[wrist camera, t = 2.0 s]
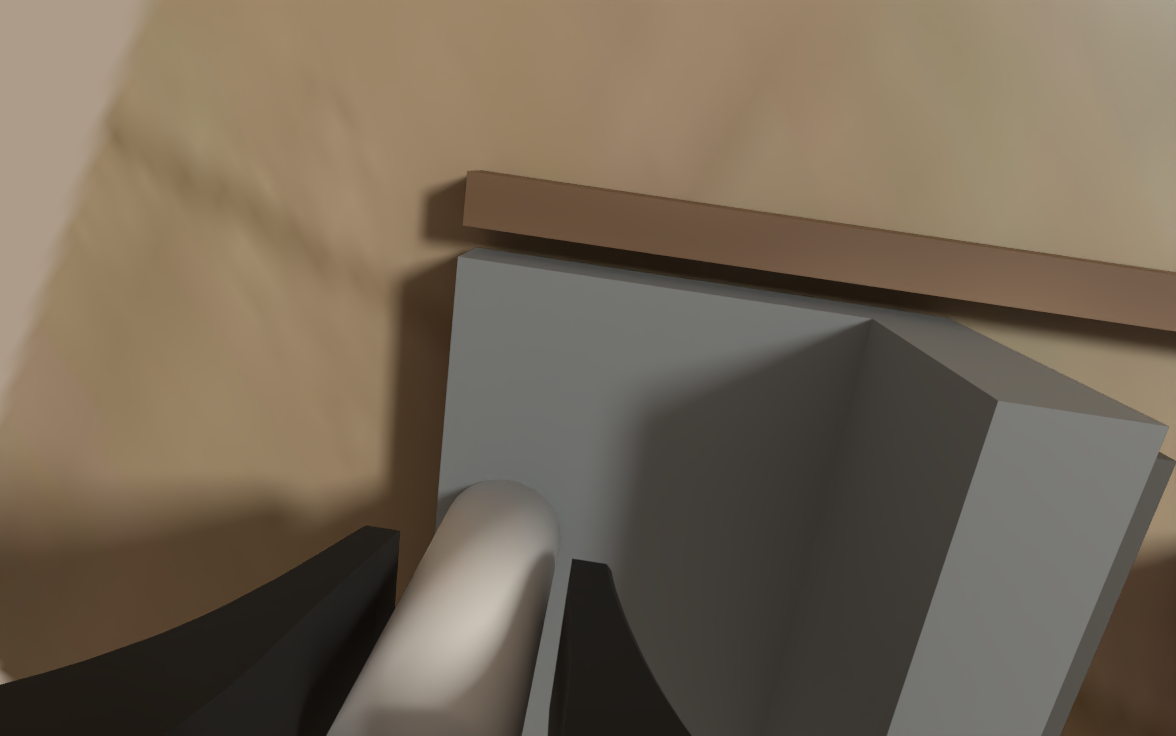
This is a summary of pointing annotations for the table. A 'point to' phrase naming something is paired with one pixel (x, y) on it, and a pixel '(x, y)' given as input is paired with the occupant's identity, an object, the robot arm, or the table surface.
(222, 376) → the table surface
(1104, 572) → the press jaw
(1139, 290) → the frame
